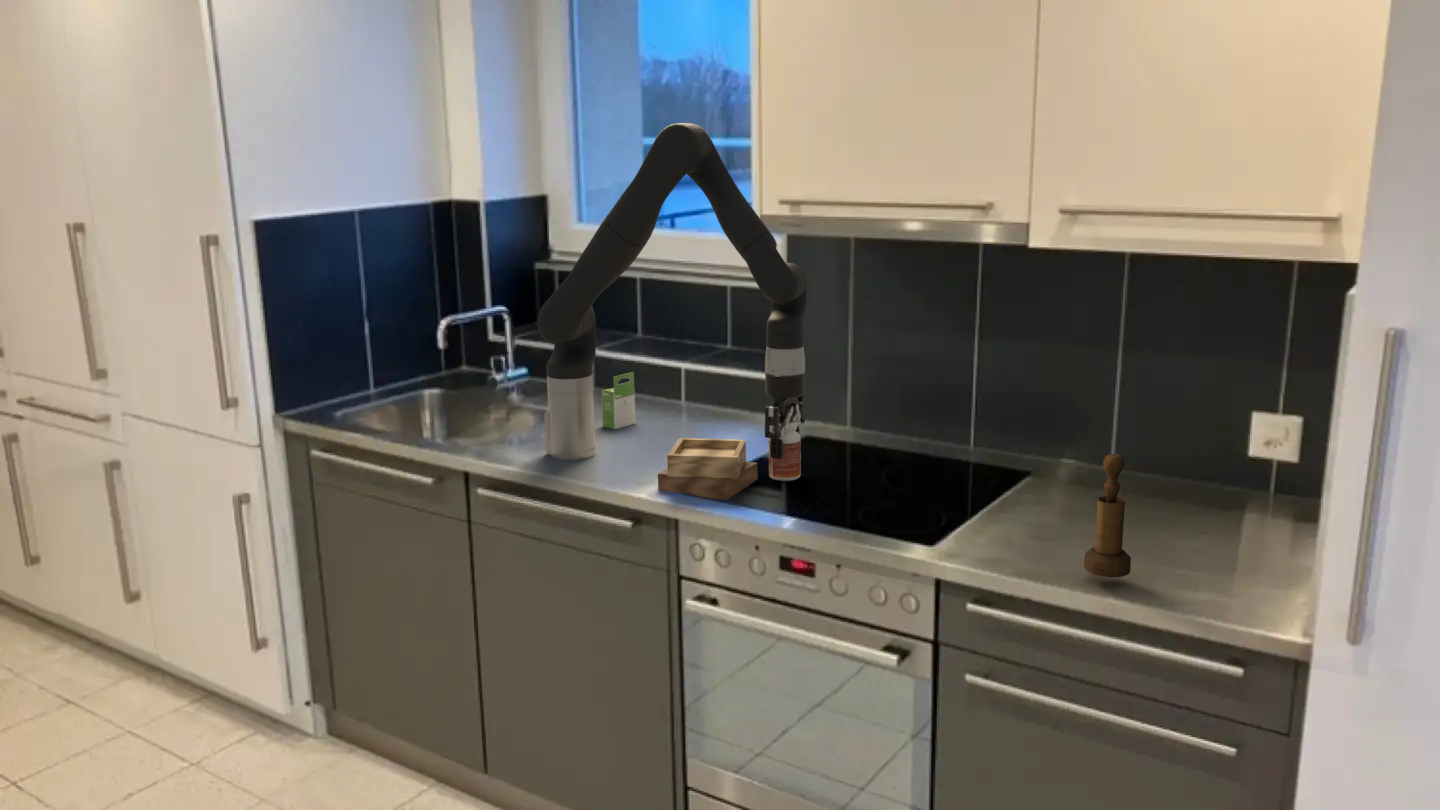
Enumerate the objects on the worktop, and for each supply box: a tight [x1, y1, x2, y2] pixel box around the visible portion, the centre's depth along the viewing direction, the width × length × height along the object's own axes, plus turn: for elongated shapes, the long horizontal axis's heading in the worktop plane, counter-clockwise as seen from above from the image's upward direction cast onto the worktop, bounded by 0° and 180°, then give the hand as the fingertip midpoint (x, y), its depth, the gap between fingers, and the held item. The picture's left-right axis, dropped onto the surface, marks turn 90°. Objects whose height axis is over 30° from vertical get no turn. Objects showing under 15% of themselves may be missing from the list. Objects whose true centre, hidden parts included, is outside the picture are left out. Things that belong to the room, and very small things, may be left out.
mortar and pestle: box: [1083, 453, 1132, 578], centre depth 178 cm, size 7×6×18 cm
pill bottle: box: [768, 420, 802, 482], centre depth 230 cm, size 6×6×11 cm
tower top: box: [666, 437, 747, 479], centre depth 225 cm, size 13×13×4 cm
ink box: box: [601, 371, 637, 430], centre depth 266 cm, size 7×4×13 cm, turn 141°
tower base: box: [657, 460, 758, 501], centre depth 226 cm, size 14×14×4 cm
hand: (785, 452), depth 230 cm, fingers open, 8 cm apart
